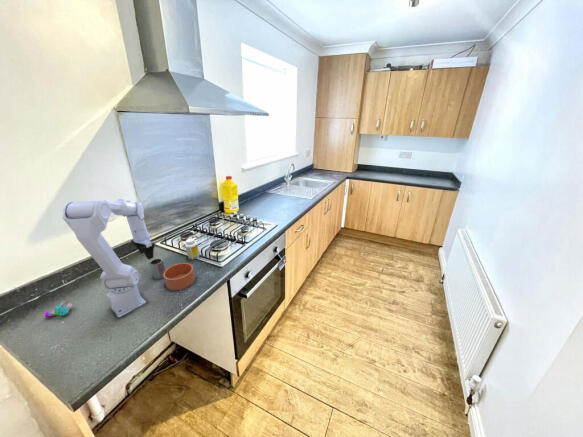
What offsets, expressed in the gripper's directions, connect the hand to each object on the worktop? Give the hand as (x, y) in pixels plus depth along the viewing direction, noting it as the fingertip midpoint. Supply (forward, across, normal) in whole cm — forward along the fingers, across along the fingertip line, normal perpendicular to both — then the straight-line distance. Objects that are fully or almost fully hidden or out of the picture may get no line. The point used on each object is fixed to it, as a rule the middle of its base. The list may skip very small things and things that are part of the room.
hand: (146, 255), depth 105 cm
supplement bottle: (+10, -4, -19) cm, 22 cm away
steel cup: (+9, -6, -1) cm, 11 cm away
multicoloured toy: (+8, -35, -5) cm, 36 cm away
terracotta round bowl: (+9, -18, -5) cm, 20 cm away
